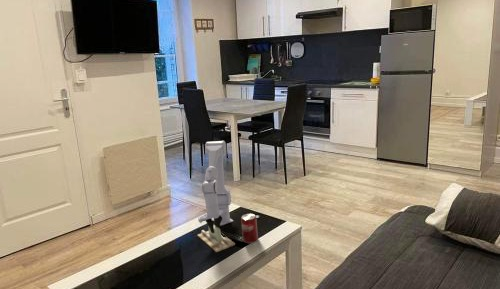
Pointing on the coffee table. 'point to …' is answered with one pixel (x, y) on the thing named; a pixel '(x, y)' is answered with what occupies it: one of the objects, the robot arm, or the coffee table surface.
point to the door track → (213, 243)
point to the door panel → (216, 233)
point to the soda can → (249, 228)
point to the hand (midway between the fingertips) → (214, 231)
